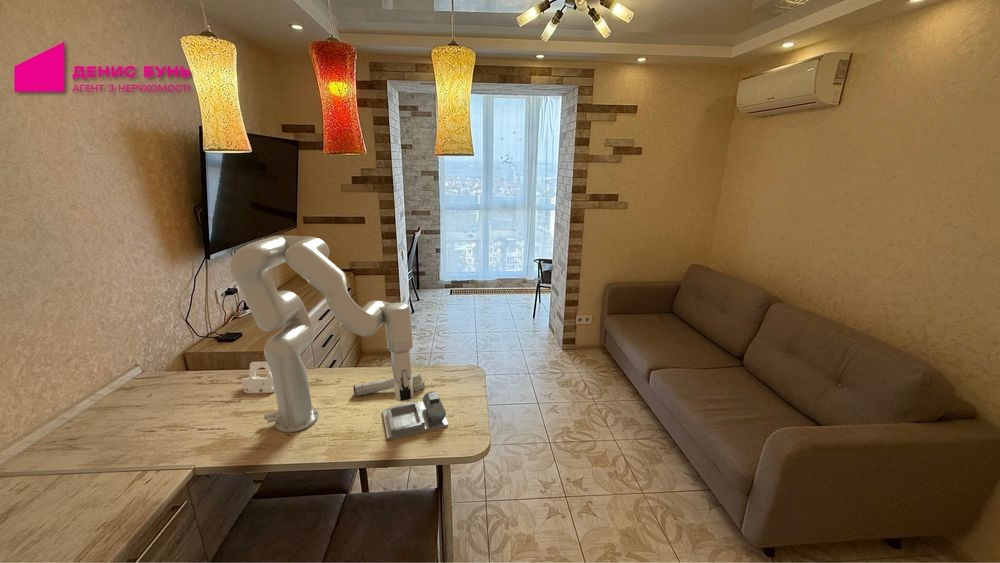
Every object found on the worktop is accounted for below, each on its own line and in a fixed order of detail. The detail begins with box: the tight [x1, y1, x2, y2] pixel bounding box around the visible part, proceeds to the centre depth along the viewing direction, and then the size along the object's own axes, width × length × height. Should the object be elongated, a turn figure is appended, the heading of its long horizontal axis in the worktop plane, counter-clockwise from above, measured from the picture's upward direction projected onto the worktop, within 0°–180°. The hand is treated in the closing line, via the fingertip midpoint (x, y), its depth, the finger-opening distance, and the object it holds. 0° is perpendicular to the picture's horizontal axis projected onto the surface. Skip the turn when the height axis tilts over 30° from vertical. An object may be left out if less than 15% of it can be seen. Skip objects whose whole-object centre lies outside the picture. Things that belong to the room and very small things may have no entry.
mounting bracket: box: [241, 361, 275, 394], centre depth 145 cm, size 12×6×11 cm, turn 93°
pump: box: [394, 375, 414, 403], centre depth 123 cm, size 6×6×8 cm
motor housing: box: [382, 390, 449, 441], centre depth 128 cm, size 19×15×8 cm
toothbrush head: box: [353, 371, 426, 397], centre depth 145 cm, size 5×7×25 cm
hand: (404, 393), depth 124 cm, fingers closed on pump, 5 cm apart
